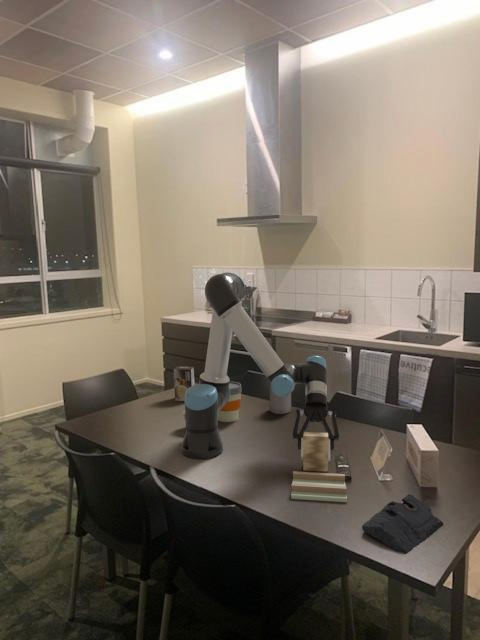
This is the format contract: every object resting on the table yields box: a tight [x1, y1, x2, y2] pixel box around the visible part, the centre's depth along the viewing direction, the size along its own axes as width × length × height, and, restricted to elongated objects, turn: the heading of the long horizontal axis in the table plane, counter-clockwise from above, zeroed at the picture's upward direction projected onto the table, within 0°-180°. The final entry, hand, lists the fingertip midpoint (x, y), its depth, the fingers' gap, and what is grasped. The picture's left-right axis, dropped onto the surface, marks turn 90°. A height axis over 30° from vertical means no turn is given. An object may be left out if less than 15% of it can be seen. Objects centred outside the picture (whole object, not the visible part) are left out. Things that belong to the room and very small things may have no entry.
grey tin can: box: [269, 382, 292, 415], centre depth 221 cm, size 10×10×15 cm
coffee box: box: [173, 365, 196, 402], centre depth 240 cm, size 9×6×16 cm
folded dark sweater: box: [361, 494, 444, 554], centre depth 128 cm, size 15×22×5 cm
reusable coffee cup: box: [218, 381, 243, 423], centre depth 211 cm, size 13×13×15 cm
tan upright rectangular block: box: [302, 431, 329, 473], centre depth 162 cm, size 8×4×12 cm, turn 81°
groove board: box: [290, 470, 348, 503], centre depth 148 cm, size 16×14×3 cm
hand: (315, 458), depth 159 cm, fingers closed on tan upright rectangular block, 8 cm apart
